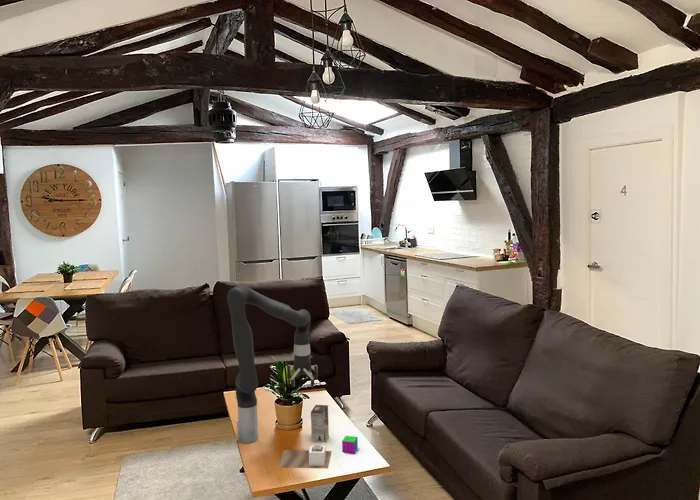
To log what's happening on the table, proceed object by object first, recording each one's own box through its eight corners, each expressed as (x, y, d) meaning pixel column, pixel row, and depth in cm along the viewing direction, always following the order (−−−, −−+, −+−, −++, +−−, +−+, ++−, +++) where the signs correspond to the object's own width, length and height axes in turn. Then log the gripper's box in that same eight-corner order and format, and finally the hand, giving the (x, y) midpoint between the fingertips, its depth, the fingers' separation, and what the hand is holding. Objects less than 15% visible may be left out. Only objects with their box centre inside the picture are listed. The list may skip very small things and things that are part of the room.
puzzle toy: (357, 448, 255) (357, 436, 254) (354, 454, 249) (354, 442, 249) (345, 447, 256) (345, 435, 256) (342, 452, 251) (342, 440, 250)
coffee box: (316, 436, 269) (315, 404, 267) (329, 436, 268) (328, 404, 266) (311, 444, 260) (310, 411, 258) (324, 445, 259) (323, 412, 257)
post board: (276, 470, 235) (276, 451, 234) (283, 453, 251) (283, 435, 250) (328, 471, 233) (327, 452, 233) (331, 454, 249) (331, 436, 249)
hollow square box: (309, 465, 236) (308, 452, 235) (311, 458, 242) (311, 445, 242) (324, 466, 235) (323, 452, 235) (325, 459, 242) (325, 445, 241)
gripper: (285, 355, 252) (286, 389, 253) (316, 355, 251) (317, 389, 252) (288, 350, 259) (289, 384, 261) (318, 350, 258) (319, 384, 260)
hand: (302, 386), depth 257 cm, fingers open, 8 cm apart
